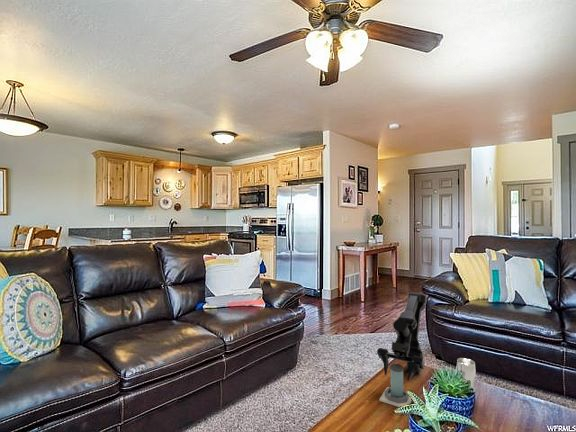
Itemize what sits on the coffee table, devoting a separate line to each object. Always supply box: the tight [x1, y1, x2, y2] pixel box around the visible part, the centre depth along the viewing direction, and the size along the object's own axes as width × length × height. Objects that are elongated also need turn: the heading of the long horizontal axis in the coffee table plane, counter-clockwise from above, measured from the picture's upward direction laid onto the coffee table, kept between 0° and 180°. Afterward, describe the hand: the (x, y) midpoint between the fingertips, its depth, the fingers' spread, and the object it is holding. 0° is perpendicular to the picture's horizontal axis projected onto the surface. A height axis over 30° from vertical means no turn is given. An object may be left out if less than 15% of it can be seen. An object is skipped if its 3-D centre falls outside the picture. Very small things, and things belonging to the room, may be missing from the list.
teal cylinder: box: [390, 363, 404, 398], centre depth 135 cm, size 5×5×12 cm
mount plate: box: [379, 386, 413, 408], centre depth 135 cm, size 11×11×2 cm
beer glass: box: [456, 357, 477, 389], centre depth 136 cm, size 7×7×15 cm
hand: (396, 377), depth 135 cm, fingers open, 9 cm apart
